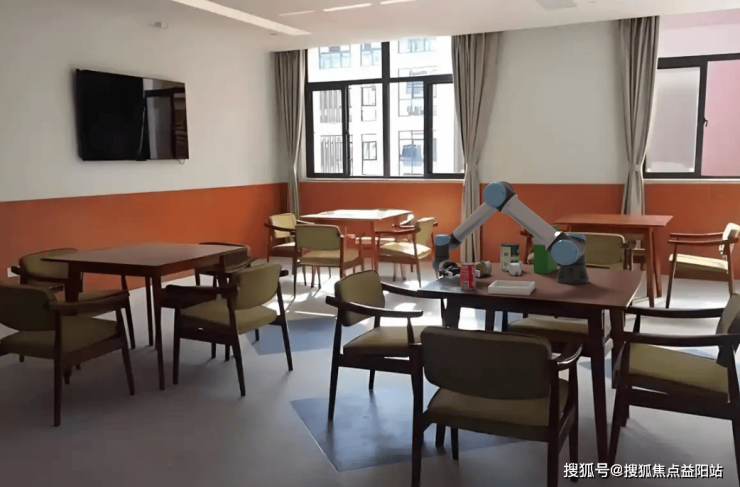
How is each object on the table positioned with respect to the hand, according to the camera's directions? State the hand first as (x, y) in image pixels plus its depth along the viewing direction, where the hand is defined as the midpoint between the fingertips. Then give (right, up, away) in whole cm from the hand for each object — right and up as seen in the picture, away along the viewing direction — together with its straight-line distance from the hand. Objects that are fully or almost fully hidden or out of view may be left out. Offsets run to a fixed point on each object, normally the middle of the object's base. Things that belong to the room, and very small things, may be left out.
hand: (465, 274), depth 306 cm
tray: (+20, -7, -7) cm, 22 cm away
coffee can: (+32, 0, +53) cm, 62 cm away
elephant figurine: (+31, -2, +37) cm, 48 cm away
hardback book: (+50, 0, +46) cm, 68 cm away
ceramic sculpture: (+13, -2, +35) cm, 37 cm away
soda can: (+1, -7, -1) cm, 7 cm away
